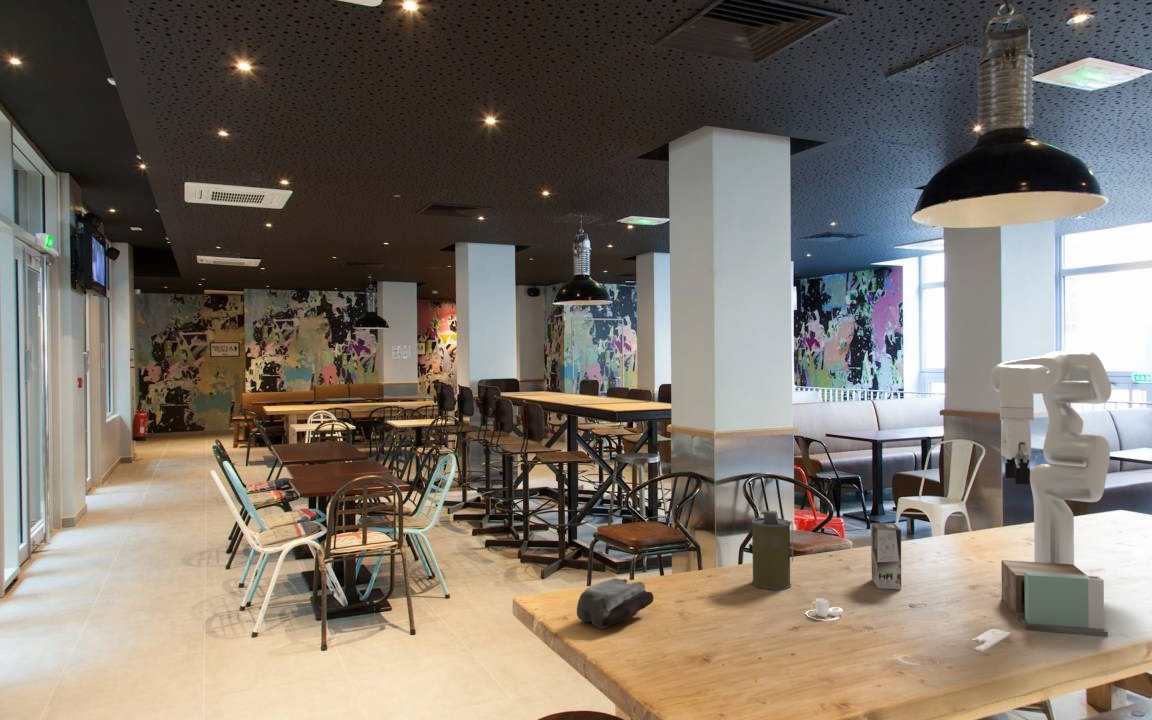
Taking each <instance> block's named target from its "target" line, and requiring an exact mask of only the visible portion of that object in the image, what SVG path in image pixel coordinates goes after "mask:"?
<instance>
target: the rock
mask: <svg viewBox="0 0 1152 720" xmlns="http://www.w3.org/2000/svg"><path fill="white" fill-rule="evenodd" d="M645 587H646V585H645V584H644V582H642V581H636V582H632V583H628V579H626V578H624V579H621V578H620V579H619V578H616V577H615V578H611V579H608V580H604V581H601V582H598V583H595V584H593V585H590V586H589V587H587V588H586V589H585V590H584V591H583V592H582V593H581V594H580V595H579V599H578V601H577V607H576V616H577V618H578V619H579V620H580V621H581V622H584V623H585V622H586V623H587V622H591V623H592V624H593V626H595V628H598V629H600V630H601V629H605V628H607V627H609V626H612V625H614V624H618V623H622V622H623V621H625V620H627V619H630V618H631V617H632V616H634V615H635V614H636V613H638V612H639V611H641V610H643V609H645V608H647V607H648V606H650V605H651V604H652V603H653V601H654V594H653V593H652V592H651V591H646V588H645Z"/></svg>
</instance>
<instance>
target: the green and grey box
mask: <svg viewBox="0 0 1152 720" xmlns="http://www.w3.org/2000/svg"><path fill="white" fill-rule="evenodd" d="M1104 583H1105V581H1104V579H1103V578H1101V577H1100V576H1096V575H1087V576H1084V575H1068V574H1052V573H1036V572H1025V620H1026V621H1027V622H1028V623H1032V624H1045V625H1057V626H1070V627H1083V628H1095V629H1105V601H1104V599H1105V597H1104V596H1105V595H1104V593H1105V589H1104Z"/></svg>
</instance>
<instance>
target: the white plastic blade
mask: <svg viewBox="0 0 1152 720" xmlns="http://www.w3.org/2000/svg"><path fill="white" fill-rule="evenodd" d="M1010 636H1011V632H1008V631H1006V630H1001V629H997V628H992V629H988V630H986V631H984V632H983V633H981V634H980V635H978V636H976V637H974V638H973V639H971V641H975V642H976V641H977V642H978V643H982V642H983V643H982V644H980V645H978V646H976V647H974V650H975V651H977V652H981V653H983V652H986V651H987V650H989V649H991V648H992V647H993V646H995V645H997V644H998V643H1000V642H1002V641H1003V640H1005V639H1006V638H1008V637H1010Z"/></svg>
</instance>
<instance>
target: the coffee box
mask: <svg viewBox="0 0 1152 720" xmlns="http://www.w3.org/2000/svg"><path fill="white" fill-rule="evenodd" d="M870 542H871V543H870V546H871V547H870V549H871V550H870V554H871V555H870V556H871V560H870V561H871V581H872V582H873V583H874V585H875V586H876V588H877V589H880V590H881V589H882V590H883V589H885V590H902V529H901V527H899V526H898V525H896V524H895V523H894V522H871V523H870Z"/></svg>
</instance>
